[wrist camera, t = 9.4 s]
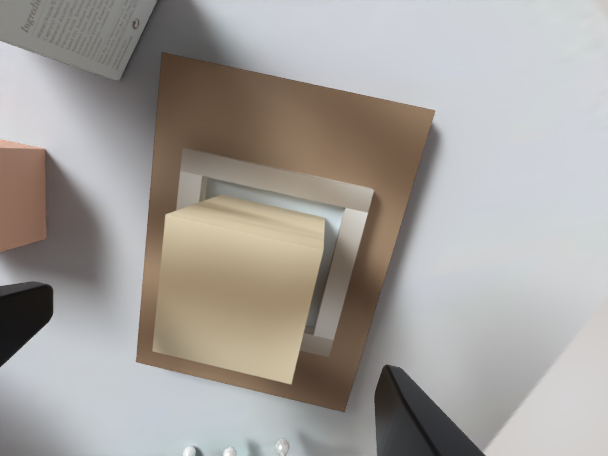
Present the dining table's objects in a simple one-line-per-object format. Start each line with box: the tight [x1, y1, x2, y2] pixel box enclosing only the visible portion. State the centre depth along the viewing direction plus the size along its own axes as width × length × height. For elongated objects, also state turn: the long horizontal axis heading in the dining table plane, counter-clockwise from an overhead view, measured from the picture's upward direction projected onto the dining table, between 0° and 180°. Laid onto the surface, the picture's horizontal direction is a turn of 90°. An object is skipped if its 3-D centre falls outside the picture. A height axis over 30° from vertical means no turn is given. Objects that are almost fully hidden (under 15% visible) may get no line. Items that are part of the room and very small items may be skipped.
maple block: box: [152, 194, 325, 384], centre depth 12 cm, size 5×5×5 cm
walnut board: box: [136, 52, 435, 412], centre depth 15 cm, size 16×12×2 cm
